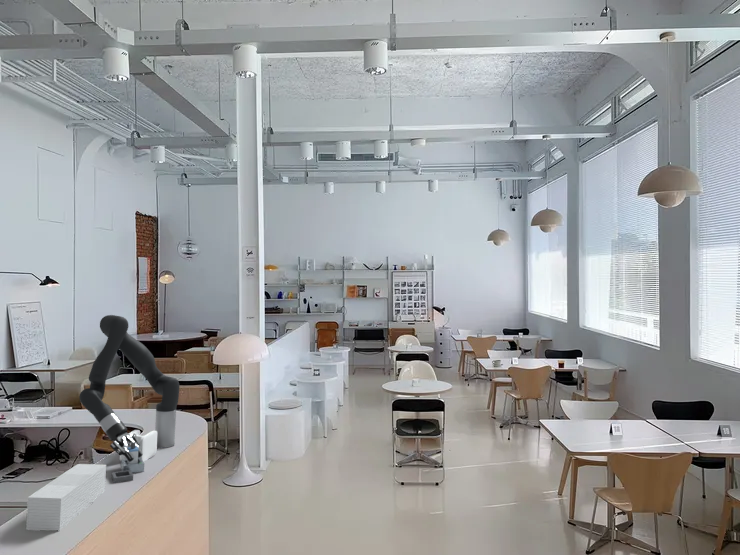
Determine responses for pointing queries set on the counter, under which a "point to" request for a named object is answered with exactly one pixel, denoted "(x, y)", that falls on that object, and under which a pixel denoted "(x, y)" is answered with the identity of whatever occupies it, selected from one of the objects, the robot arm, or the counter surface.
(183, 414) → the counter surface
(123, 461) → the port
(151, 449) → the cable organizer
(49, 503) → the stack of papers
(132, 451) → the plug
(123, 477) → the holster
